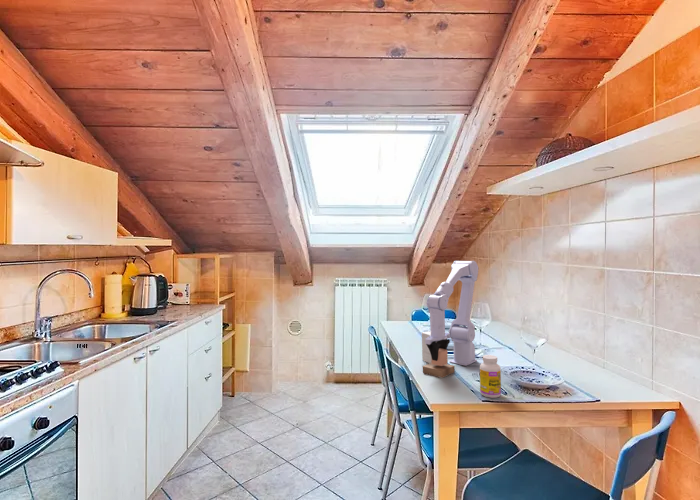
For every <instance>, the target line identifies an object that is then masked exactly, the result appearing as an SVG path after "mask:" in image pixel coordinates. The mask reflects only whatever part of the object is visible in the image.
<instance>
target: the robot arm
mask: <svg viewBox="0 0 700 500" xmlns="http://www.w3.org/2000/svg"><path fill="white" fill-rule="evenodd" d="M450 268H451V271H450V274H449V275H448V277H447V278H446V280H445V281H443V282H441V283H440V285H439V286H438V288H437V289H436V290H435V292H434V293H433V294H431V295H429V297H428V298H427V299H426V306H427V308H428V313H429V321H430V323H429V325H430V327H429V328H430V331H431V335H430V336H429V337H428V338H426V339H425V344H426V345H427V347H428V348H429V351H430V353H431V357H432V360H435V361H437V360H438V351H439V348H441V349H446V350H447V351H448V346H449V345H450V343H451V341H452V343H453V359H451V360H449V363H450V364H452V363H453V364H456V365H461V366H469V365H471V364H473V363H475V362H477V361H478V360H477V359H476V349H475V348H476V346H475V343H474V342H473V341H475V338H476V331H475V330H476V329H475V328H476V327H475V325H474V323H473V322H472V321H471V320H470V318H471V312H472V305H473V304H472V303H473V299H474V298H473V297H474V290H475V282H477V280H478V275H479V266H478V263H477V261H476V260H454V261H453V263H452V264H451V267H450ZM458 281H460V282H461V291H460V295H459V296H460V297H459V304H458V310H457V317H456V318H455V319H454V320H452V321H451V323H450V327H449V328H448V329H449V330H448V332H446V317H445V316H446V314H445V312H446V311H445V310H446V309H447V308H448V303H449V298H450V297H451V295H452V294H453V292H454V286H455V284H456V283H457V282H458ZM450 339H451V340H450ZM436 342H437V343H436Z"/></svg>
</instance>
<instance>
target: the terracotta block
mask: <svg viewBox="0 0 700 500" xmlns="http://www.w3.org/2000/svg"><path fill="white" fill-rule="evenodd" d="M448 360H449V359H448V349H447V350H446V349H441V348H439V351H438V360H437V361H435V360H432V364H435V365H439V366H443V365H445V364H449V363H448Z"/></svg>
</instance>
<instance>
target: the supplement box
mask: <svg viewBox="0 0 700 500" xmlns="http://www.w3.org/2000/svg"><path fill="white" fill-rule="evenodd" d="M430 335H431V331H429V330H428V331H424V332H421V348H422V350H421V352H422V354H421V355H422V359H421V360H422V361H424V362H426V363H427V364H430V363H432V357H431V353H430V351H429V348H428V347H427V345H426V344H425V339H426V338H428V337H429V336H430ZM436 343H437V342H436Z"/></svg>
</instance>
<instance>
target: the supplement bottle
mask: <svg viewBox="0 0 700 500" xmlns="http://www.w3.org/2000/svg"><path fill="white" fill-rule="evenodd" d="M501 372H502V371H501V366H500V365H499V364H498V356H496V355H494V354H493V355H492V354H484V355H482V362H481V364H480V365H479V387H480V388H479V392H480V395H482V396H483V397H486V398H491V399H497V398H500V397H501V395H502V373H501Z"/></svg>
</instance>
